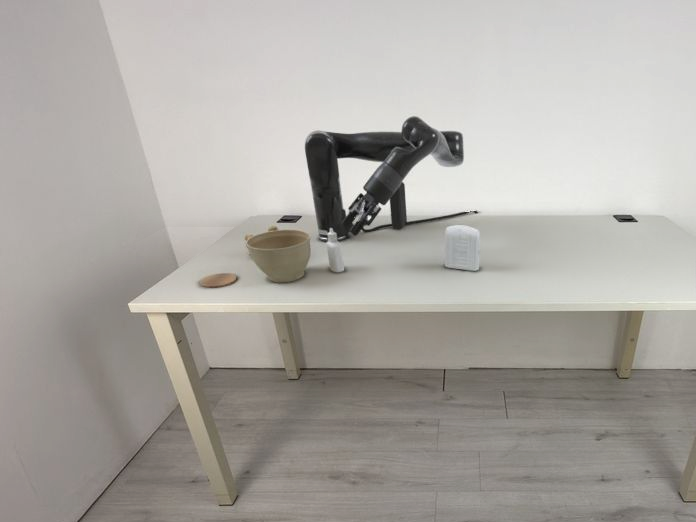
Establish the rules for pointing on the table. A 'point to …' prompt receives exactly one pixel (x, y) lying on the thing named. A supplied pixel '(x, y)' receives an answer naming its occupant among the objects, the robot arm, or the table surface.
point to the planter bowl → (281, 253)
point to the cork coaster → (218, 280)
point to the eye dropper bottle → (334, 252)
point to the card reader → (398, 208)
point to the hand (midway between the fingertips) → (348, 229)
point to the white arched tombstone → (462, 247)
